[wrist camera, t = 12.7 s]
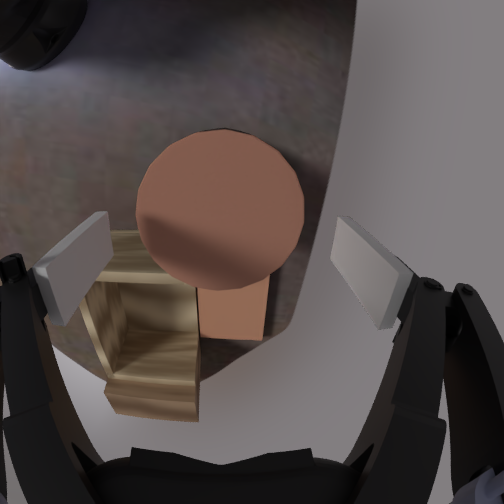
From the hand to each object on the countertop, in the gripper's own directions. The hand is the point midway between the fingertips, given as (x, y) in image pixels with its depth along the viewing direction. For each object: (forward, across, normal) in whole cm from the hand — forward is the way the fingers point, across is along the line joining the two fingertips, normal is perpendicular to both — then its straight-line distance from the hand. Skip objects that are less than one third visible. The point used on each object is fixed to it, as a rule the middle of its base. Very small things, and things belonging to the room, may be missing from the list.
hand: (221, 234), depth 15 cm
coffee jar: (+20, 0, 0) cm, 20 cm away
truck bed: (+20, -10, -20) cm, 30 cm away
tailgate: (+19, -3, -17) cm, 25 cm away
